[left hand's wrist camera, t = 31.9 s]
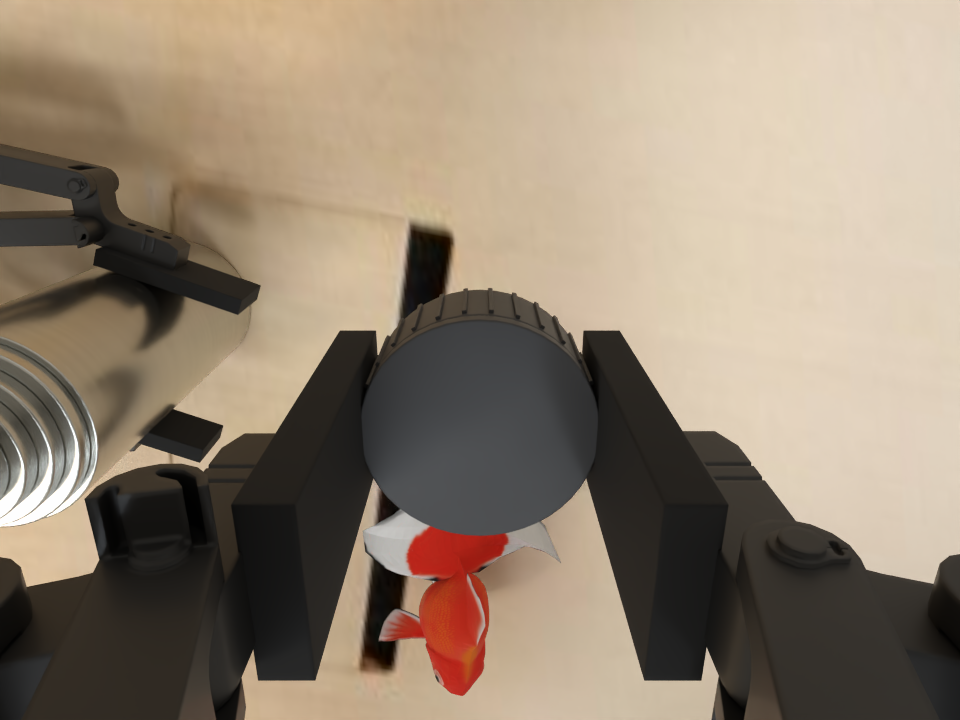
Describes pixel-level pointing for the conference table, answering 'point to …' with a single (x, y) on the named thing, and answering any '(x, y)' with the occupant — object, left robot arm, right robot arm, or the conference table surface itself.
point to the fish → (446, 589)
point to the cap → (479, 414)
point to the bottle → (96, 378)
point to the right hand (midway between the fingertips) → (229, 374)
